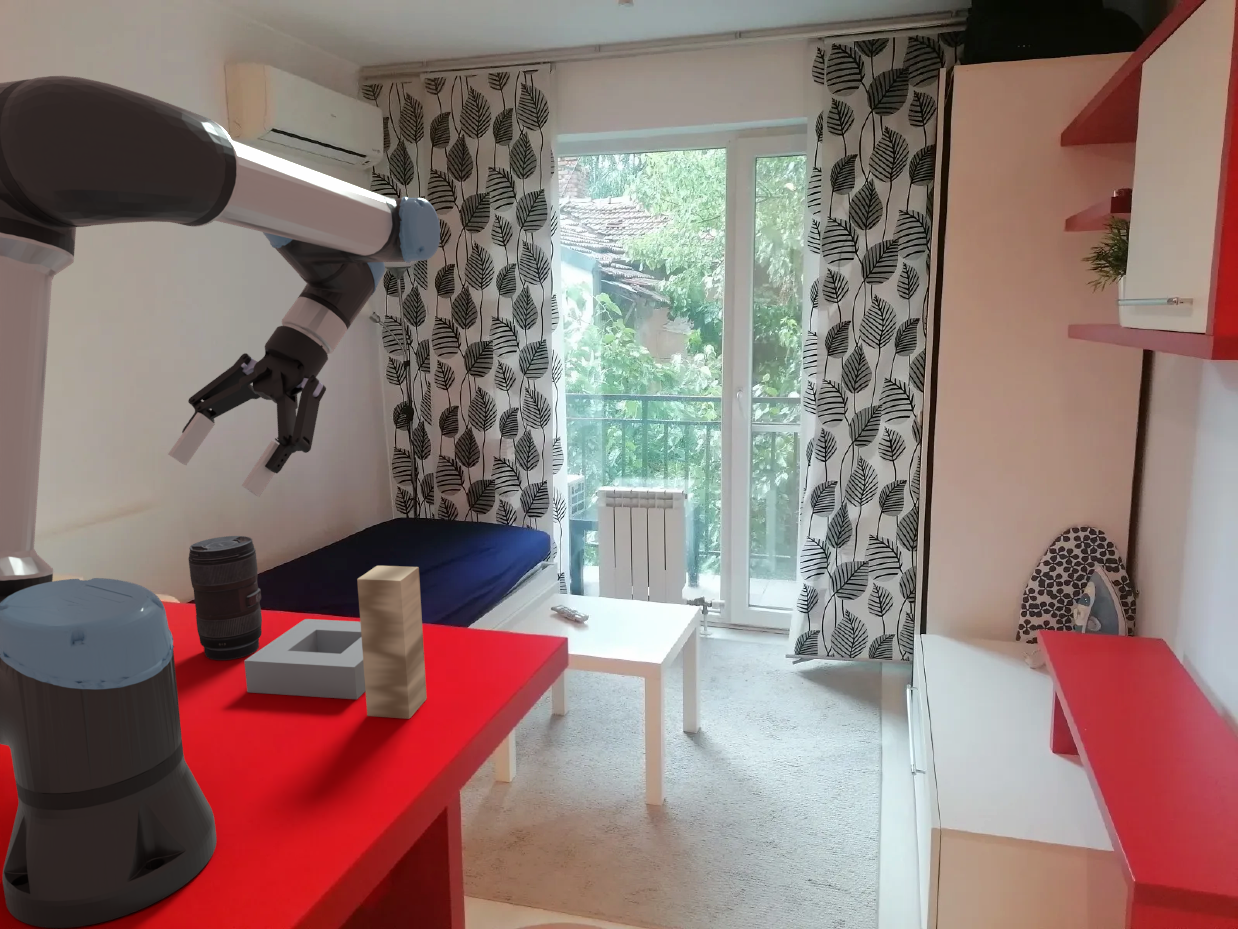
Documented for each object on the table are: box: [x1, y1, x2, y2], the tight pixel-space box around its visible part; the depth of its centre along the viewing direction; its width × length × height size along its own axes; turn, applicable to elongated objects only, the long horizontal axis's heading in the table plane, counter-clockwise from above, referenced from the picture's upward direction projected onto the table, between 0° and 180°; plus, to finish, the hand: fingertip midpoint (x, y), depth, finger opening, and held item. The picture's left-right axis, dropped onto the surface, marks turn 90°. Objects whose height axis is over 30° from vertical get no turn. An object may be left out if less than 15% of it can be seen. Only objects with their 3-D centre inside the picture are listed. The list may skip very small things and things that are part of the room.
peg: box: [356, 565, 428, 720], centre depth 99 cm, size 5×5×16 cm
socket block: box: [243, 618, 366, 700], centre depth 110 cm, size 14×14×4 cm
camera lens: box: [188, 535, 263, 661], centre depth 116 cm, size 8×8×15 cm
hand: (212, 475), depth 110 cm, fingers open, 13 cm apart
